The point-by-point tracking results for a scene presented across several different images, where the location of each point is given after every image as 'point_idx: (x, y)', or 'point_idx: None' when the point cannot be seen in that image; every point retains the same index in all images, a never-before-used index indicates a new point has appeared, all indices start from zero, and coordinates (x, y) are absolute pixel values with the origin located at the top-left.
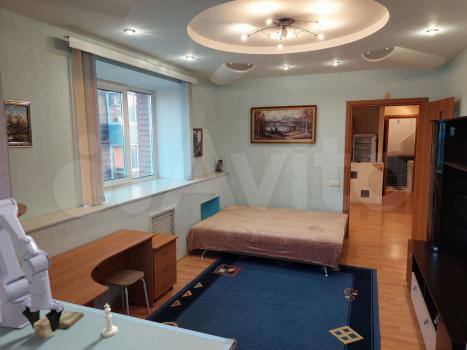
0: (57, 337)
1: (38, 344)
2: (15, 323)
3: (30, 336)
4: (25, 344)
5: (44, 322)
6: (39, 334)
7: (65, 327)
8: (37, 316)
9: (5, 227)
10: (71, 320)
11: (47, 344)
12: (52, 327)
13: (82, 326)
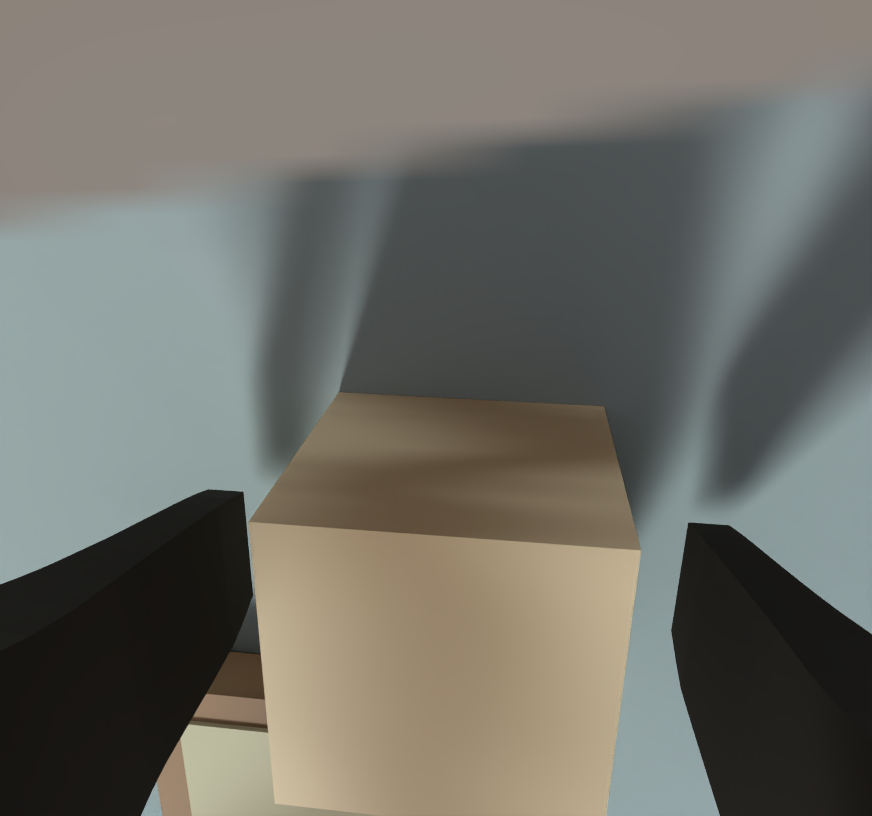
0: (153, 423)
1: (331, 199)
2: None
3: (710, 391)
4: (614, 153)
5: (371, 625)
6: (496, 421)
7: (246, 654)
8: (745, 811)
9: None
10: (196, 781)
11: (155, 227)
12: (136, 524)
13: None
